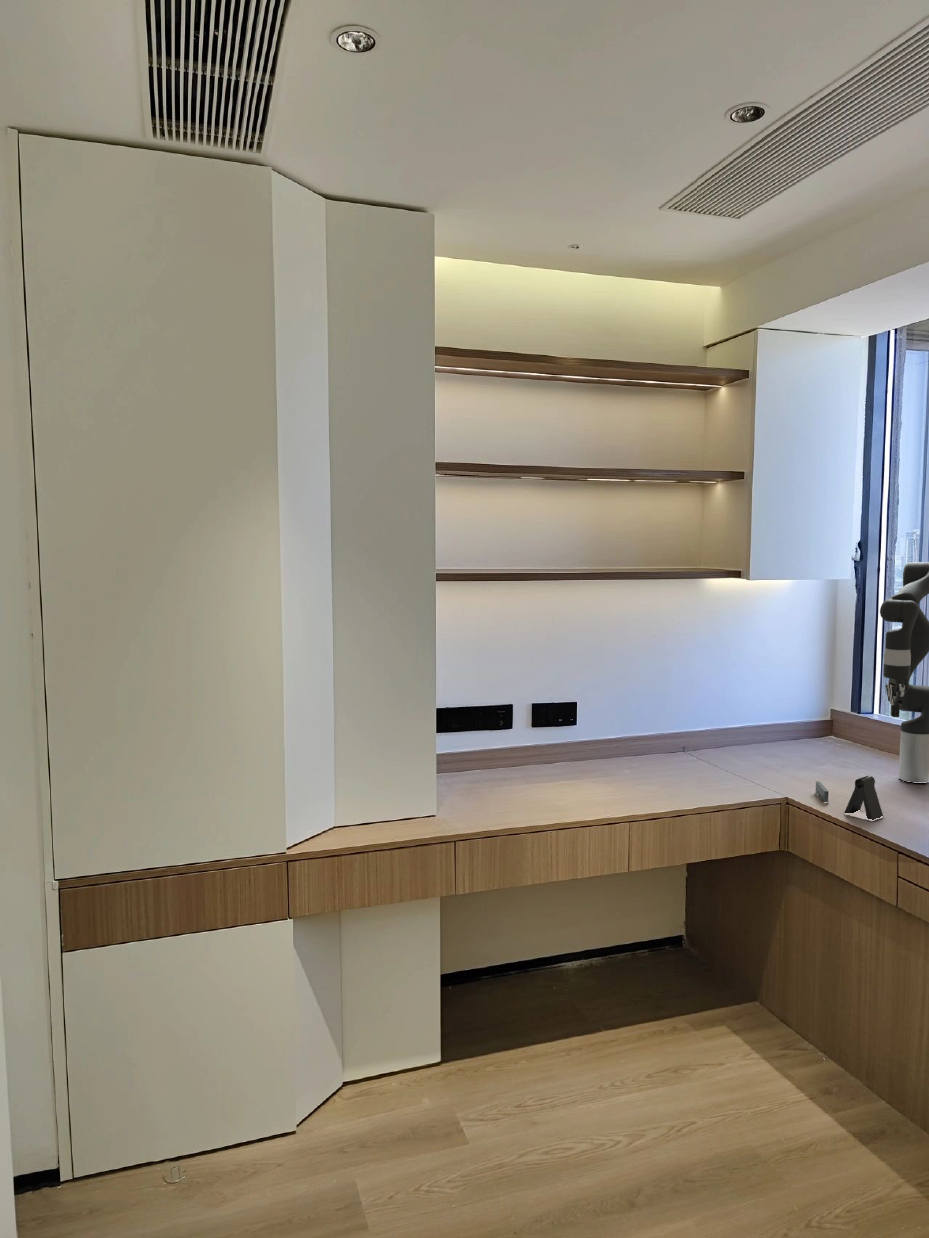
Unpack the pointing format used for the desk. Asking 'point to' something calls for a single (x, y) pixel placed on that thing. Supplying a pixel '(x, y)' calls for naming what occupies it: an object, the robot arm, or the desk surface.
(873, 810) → the dark a-frame stand
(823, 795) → the chute
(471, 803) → the desk surface
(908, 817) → the desk surface
